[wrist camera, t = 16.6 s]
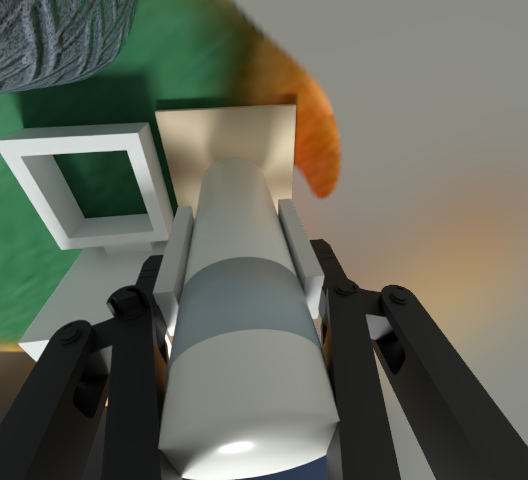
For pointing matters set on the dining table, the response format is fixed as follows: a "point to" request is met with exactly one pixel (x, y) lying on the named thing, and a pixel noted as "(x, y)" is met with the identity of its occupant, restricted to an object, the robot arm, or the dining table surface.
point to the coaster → (228, 145)
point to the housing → (89, 220)
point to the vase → (59, 40)
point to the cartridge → (243, 343)
